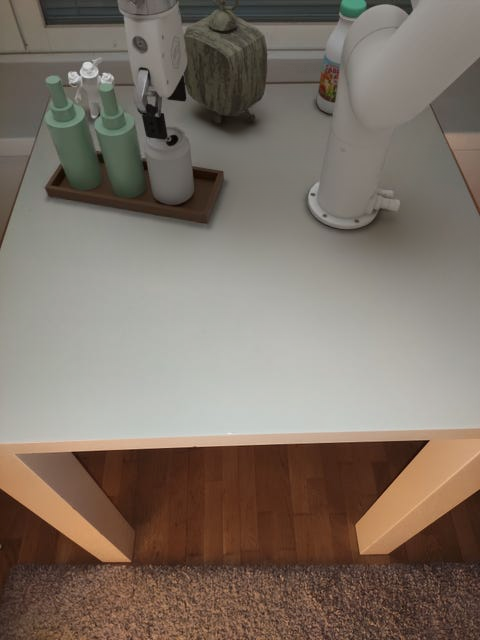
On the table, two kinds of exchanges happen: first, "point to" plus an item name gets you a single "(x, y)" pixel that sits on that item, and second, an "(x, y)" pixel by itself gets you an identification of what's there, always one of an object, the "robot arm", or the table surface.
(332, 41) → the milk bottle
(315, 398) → the table surface
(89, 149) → the bottle
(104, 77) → the hat wearing toy figure
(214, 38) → the tabletop clock
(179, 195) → the can
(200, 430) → the table surface
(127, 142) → the bottle
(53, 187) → the tray
